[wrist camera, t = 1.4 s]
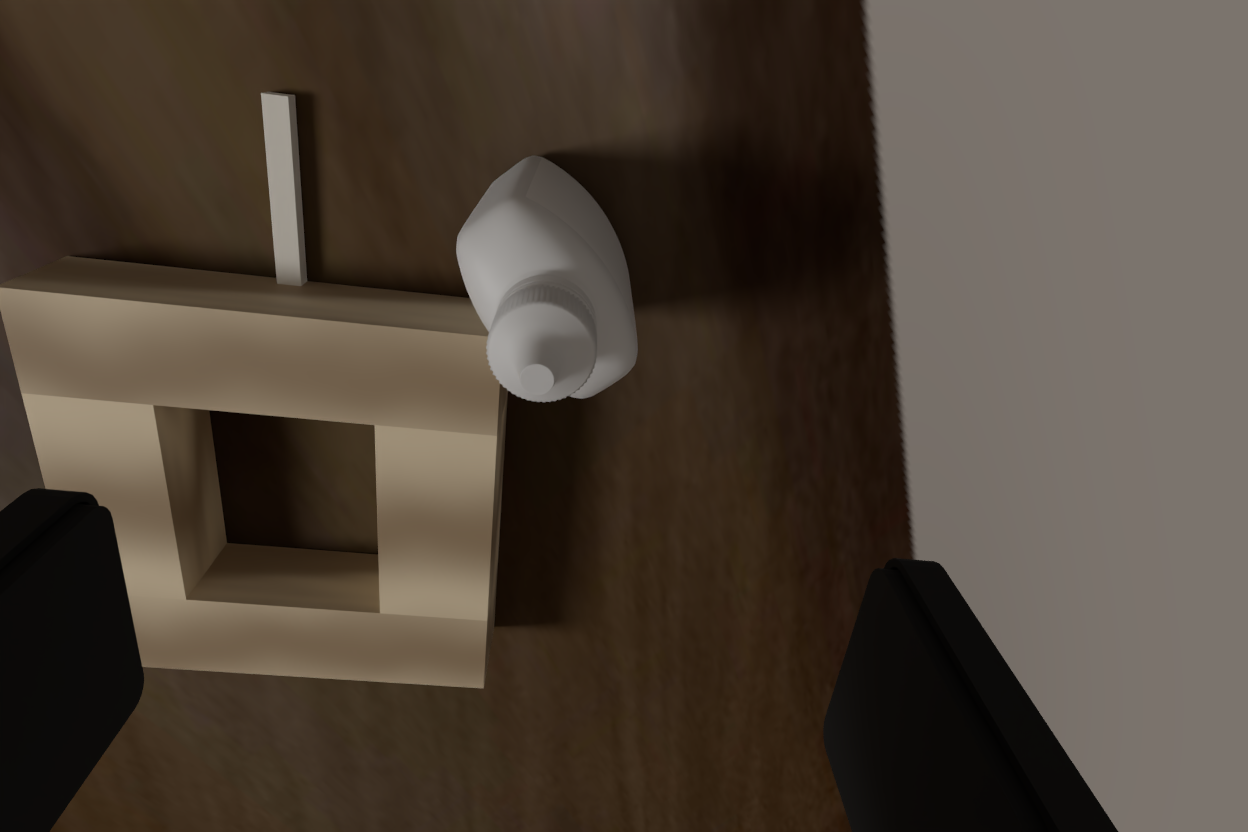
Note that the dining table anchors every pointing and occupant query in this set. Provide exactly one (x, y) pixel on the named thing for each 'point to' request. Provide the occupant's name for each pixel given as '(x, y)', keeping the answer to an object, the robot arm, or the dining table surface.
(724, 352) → the dining table surface
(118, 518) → the rectangular frame
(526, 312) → the eye dropper bottle
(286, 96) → the white rectangular bar
